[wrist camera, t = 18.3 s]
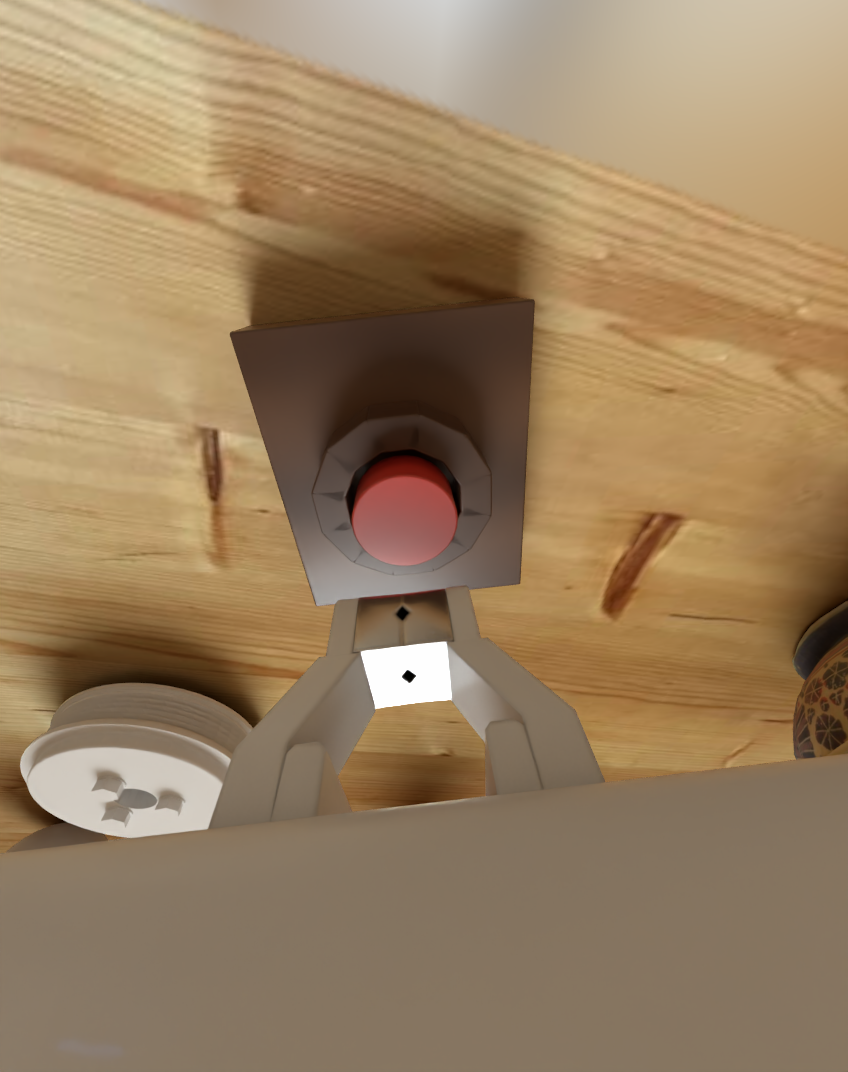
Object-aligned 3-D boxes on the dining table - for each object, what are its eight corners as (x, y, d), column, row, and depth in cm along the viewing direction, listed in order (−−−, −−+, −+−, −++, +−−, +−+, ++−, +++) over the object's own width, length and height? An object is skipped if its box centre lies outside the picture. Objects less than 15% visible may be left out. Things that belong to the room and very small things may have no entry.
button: (347, 460, 14) (341, 481, 13) (449, 448, 14) (455, 469, 13) (364, 544, 16) (361, 571, 15) (454, 534, 16) (460, 560, 15)
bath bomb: (124, 804, 33) (53, 942, 26) (140, 847, 37) (82, 975, 30) (11, 801, 31) (-94, 944, 25) (41, 845, 35) (-42, 978, 29)
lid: (81, 771, 30) (29, 853, 25) (43, 656, 23) (-35, 740, 19) (260, 783, 32) (239, 860, 28) (270, 682, 26) (246, 762, 21)
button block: (248, 325, 15) (206, 339, 11) (518, 296, 15) (554, 301, 11) (322, 578, 21) (309, 634, 18) (509, 558, 21) (531, 610, 18)
